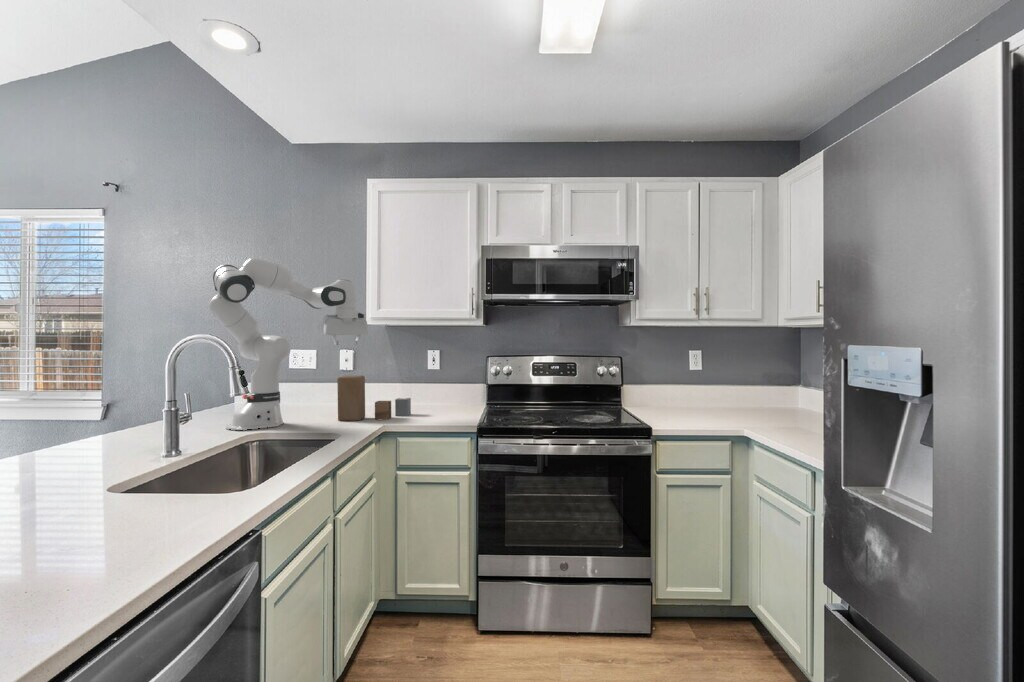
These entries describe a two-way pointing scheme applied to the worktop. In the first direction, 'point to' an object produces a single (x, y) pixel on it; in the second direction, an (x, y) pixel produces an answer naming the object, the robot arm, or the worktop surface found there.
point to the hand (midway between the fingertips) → (346, 344)
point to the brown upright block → (383, 410)
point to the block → (351, 397)
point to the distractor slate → (402, 406)
